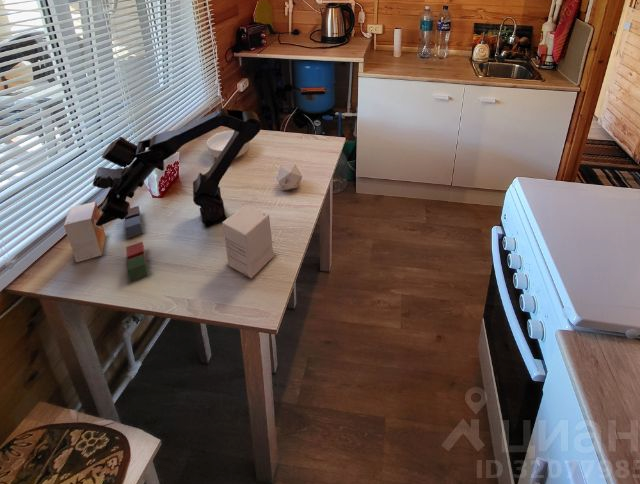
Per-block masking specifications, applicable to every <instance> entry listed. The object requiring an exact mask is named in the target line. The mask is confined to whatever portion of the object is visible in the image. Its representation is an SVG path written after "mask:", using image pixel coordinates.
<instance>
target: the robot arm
mask: <svg viewBox="0 0 640 484" xmlns="http://www.w3.org/2000/svg"><path fill="white" fill-rule="evenodd" d="M220 127H225V128H228V129H230V130H234V133H233V136H232V137H231V139H230V140H229V142H228V143H227V145H226V146H225V148H224V149H223V151H222V152H221V154H220V155H219V157H218V158H216V160H215V161H214V163H213V164H212V166H211V167H210V169H209V170H208V171H207V172H205V173H202V172H199V173H198V175H197V177H196V179H195V180H194V181H192V200H193V204H195V206H198V207H199V213H200V219H201V222H202V224H204V226H205V228H209V227H212V226H215V225H217V224H222V222H224V221H225V220H226V219H227V218H228V217H227V215H226V212H225V211H226V210H225V203H224V200H223V198H222V193H221V187H220V186H219V185H220V183H221V180H222V179H223V177H224V176H225V175H226V172H227V171H228V170H229V168H230V167H231V166H232V164H233V162H234V161H235V159H237V157H236V156H237V155H238V153H239V152H240V150H241V149H242V147H243V146H244V145H245V144H246V143H247V142H249V141H250V142H251V141H252V140H253V139H254V138H255V137H256V136H257V135H258V134H259V133H260V131H261V129H262V125H261V122H260V119H259V116H258V114H257V113H256V112H255V111H253V110H240V109H228V108H225V107H220V108H217V109H216V110H215V111H213V112H211V113H209V114H207V115H205V116H202V117H201V118H199V119H197V120H194V121H192V122H190V123H189V124H186V125H183V126H182V127H180V128H177V129H174V130H166V131H164V132H160V133H156V134H154V135H153V136H151V137H149V138H146V139H144V140H140V141H137V144H134V143H133V142H131V141H130V140H129V141H128V140H127V139H126V138H124V137H123V136H118V138H117V139H114V140H113V141H111V142H110V143H109V145H108V146H107V147H106V148H105V150H104V152H103V153H102V155H101V159H104V160H106V161H108V162H110V163H112V164H114V165H116V166H117V167H118V166H119V168H111V167H110V168H109V167H103V166H100V167H98V168H97V170H96V173H95V176H94V178H93V182H92V186H93V187H96V188H98V189H104V190H105V189H109V190H108V192H107V194H106V195H105V197H104V198H103V201H102V203H101V208H100V211H101V212H102V213H101V214H100V218H99V219H98V221H97V223H96V225H97V226H101V225H103V226H104V225H105V224H108V223H110V222H113V221H115V220H125V217H126V216H127V215H128V214H129V209H130V208H131V204H130V202H129V201H127V198H130V199H133V197H134V196H135V192H136V191H137V190H138V189H139V188H143V186H144V184H145V181H146V180H147V178H148V177H149V176H150V175H151V174H152V173H153V172H154V171H155V169H157V170H159V171H162V172H163V171H164V170H165V160H168V159H169V158H170V157H172V156H173V155H175V154H176V153H177V152H178V151H179V150H180V149H181V148H182V147H184V146H185V145H186V144H188V143H190V142H192V141H194V140H196V139H198V138H200V137H202V136H204V135H206V134H208V133H210V132H212V131H214V130H216V129H218V128H220ZM146 149H147V150H146Z"/></svg>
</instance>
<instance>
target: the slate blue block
mask: <svg viewBox="0 0 640 484" xmlns="http://www.w3.org/2000/svg"><path fill="white" fill-rule="evenodd" d="M141 220H142V218H141V219H140V216H136V217H133V218H130V219H127V220H125V219H124V229H125V233H126V237H127V239H131V238H134V237H138V236H140V235H143V234H144V229H143V222H142V223H141Z"/></svg>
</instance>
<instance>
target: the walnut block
mask: <svg viewBox="0 0 640 484" xmlns="http://www.w3.org/2000/svg"><path fill="white" fill-rule="evenodd" d="M136 216H140V219H141V223H142V224H143V222H142V214H141V210H140V206H139V205H137V206H133V207H130V209H129V214H128V215H127V216H126V217H125V219H124V221H125V220H127V219H130V218H133V217H136Z"/></svg>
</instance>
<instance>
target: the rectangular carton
mask: <svg viewBox="0 0 640 484" xmlns="http://www.w3.org/2000/svg"><path fill="white" fill-rule="evenodd" d="M226 218H227V219H226V220H225V221H224V222H221V225H222V231H223V239H224V244H225V250H226V257H227V258H226V259H227V263H228V266H229V267H231V268H233V270H236V271H237V272H239V273H241V274H243V275H245V276H246V277H248V278H250V279H252V278H254V277H255V275H257V274H258V272H260V271H261V270H262V268H264V267H265V266H266V264H268V262H270V261H271V259H272V258H273V257H274V256H275V255H274V246H273V238H272V229H271V219H270V218H271V217H270V214H269V213H267V212H264V211H262V210H260V209H258V208H256V207H254V206H252V205H250V204H247V203H246V204H244V205H243V206H242V207H240V208H239V209H238V210H237V211H235V212H234V213H233V214H231V215H230V216H228V217H226Z"/></svg>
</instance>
